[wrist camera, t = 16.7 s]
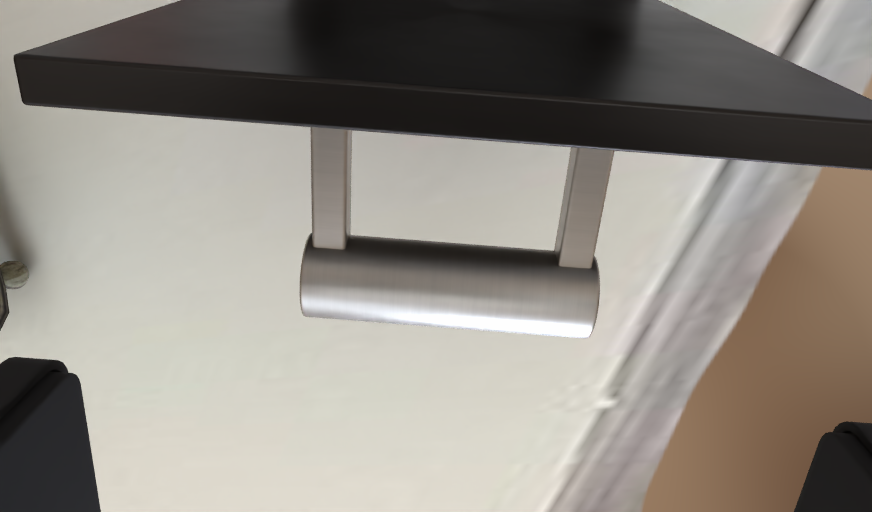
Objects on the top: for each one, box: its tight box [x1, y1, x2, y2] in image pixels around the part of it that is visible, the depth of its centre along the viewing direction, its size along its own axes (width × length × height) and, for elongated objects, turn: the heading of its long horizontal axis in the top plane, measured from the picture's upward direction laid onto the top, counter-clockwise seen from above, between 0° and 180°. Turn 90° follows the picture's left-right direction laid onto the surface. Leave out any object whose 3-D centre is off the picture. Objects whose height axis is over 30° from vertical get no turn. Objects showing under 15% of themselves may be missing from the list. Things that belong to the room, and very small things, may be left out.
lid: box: [14, 0, 872, 338], centre depth 20 cm, size 18×14×6 cm
